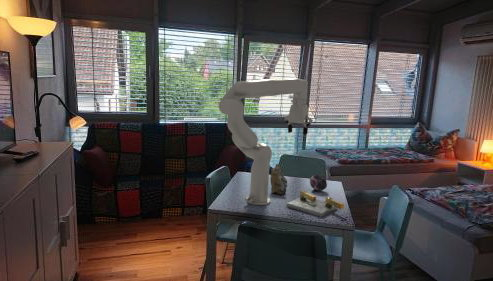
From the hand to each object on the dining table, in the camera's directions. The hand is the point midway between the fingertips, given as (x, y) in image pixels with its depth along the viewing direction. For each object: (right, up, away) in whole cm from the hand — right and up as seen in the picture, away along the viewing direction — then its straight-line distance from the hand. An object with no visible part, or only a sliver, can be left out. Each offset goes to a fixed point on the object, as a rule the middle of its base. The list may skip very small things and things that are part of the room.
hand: (297, 133), depth 185 cm
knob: (+16, -38, -17) cm, 44 cm away
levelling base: (+6, -39, -12) cm, 41 cm away
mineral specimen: (+15, -35, +20) cm, 43 cm away
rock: (-8, -34, +19) cm, 40 cm away
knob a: (+4, -36, -7) cm, 37 cm away
